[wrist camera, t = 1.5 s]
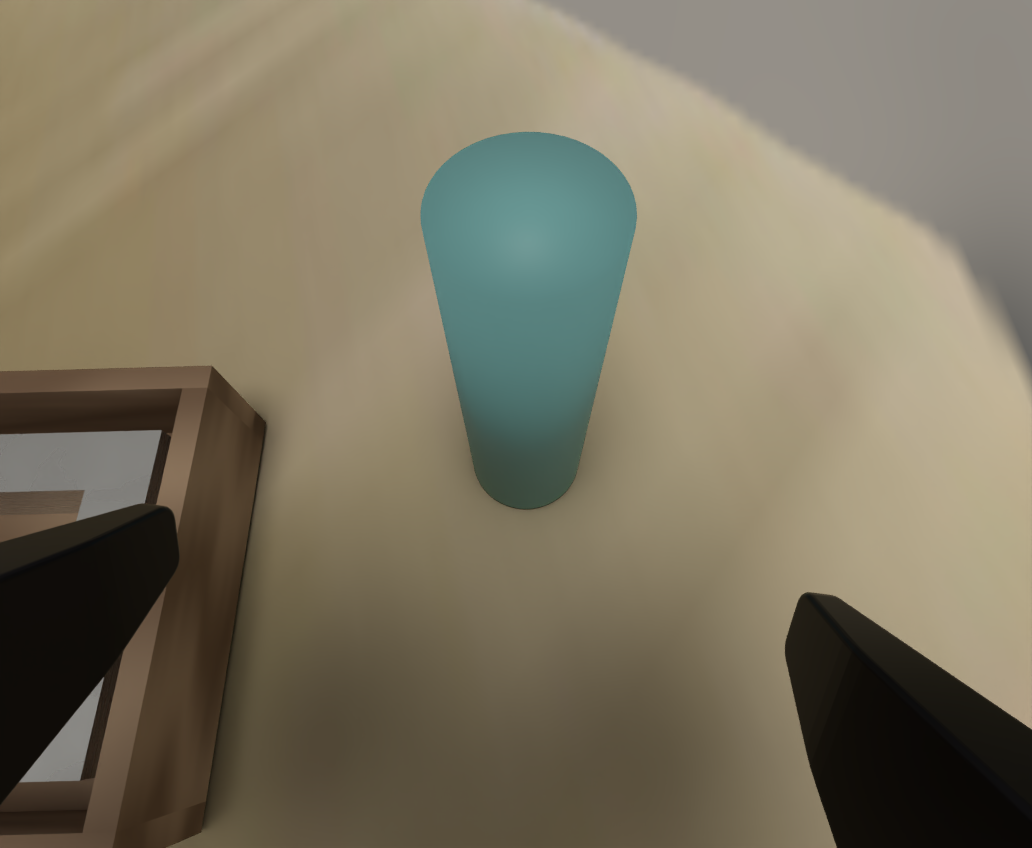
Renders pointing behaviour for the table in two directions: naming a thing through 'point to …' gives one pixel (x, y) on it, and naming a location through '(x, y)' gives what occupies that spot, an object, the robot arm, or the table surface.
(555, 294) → the peg
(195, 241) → the table surface
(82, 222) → the table surface
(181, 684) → the tray
